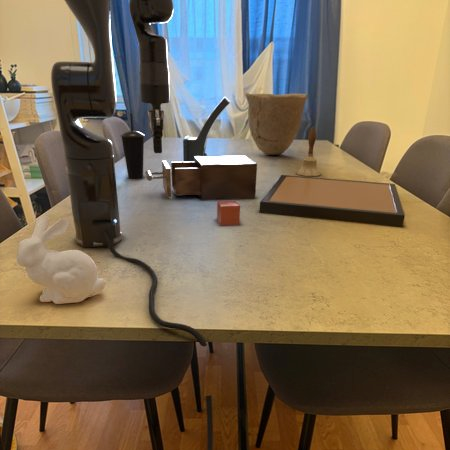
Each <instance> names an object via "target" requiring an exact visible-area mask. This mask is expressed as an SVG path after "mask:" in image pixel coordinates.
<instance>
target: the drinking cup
mask: <svg viewBox="0 0 450 450" xmlns="http://www.w3.org/2000/svg"><path fill="white" fill-rule="evenodd" d="M129 119H130V130H128V131H127V130H126V131H124V132H123V133H120V137H121V143H122V149H123V153H124V159H125V165H126V171H127V177H128V179H130V180H142V179H144V156H145V155H144V154H145V153H144V152H145V151H144V150H145V149H144V147H145V134H144V133H142V132H140V131H138V130H134V120H133V113H132V112H131V113H129Z"/></svg>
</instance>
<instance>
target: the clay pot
mask: <svg viewBox="0 0 450 450" xmlns="http://www.w3.org/2000/svg"><path fill="white" fill-rule="evenodd" d="M244 96H245V99H246V101H247V104H248V108H247V123H248V127H249V132H250V136H251V138H252V139H253V141H254V143H255V145H256V147H257V148H258V150H259V151H261V152H262V153H263V154H265V155H267V156H279V155H282V154H283V153H285V152H286V151H287V150H288V149H289V148H290V147H291V145H292V143H293V142H294V140H295V139H296V137H297V136H298V132H299V129H300V126H301V123H302V119H303V118H302V117H303V114H304V108H305V105H306V101H307V100H308V97H309V94H308V93H298V92H297V93H286V94H271V93H249V92H245V93H244Z"/></svg>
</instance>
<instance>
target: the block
mask: <svg viewBox="0 0 450 450" xmlns="http://www.w3.org/2000/svg"><path fill="white" fill-rule="evenodd" d="M240 217H241V205H240V204H239V203H238V202H237V201H236V200H216V221H217V222H218V223H219V225H220V226H240V222H241V221H240V219H241V218H240Z"/></svg>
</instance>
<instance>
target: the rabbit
mask: <svg viewBox="0 0 450 450" xmlns="http://www.w3.org/2000/svg"><path fill="white" fill-rule="evenodd" d="M49 224H50V218H49V216H48V215H46V214H42V215H40V216H39V217H37V219H36V222H35V225H34V228H33V230H32V231H33V232H32V235H31V236H30V237H28V238H24V239H22V240H20V242H19V244H18V249H17V257H16V263H17V264H18V265H19V266H20V267H25V272H26V274H27V276H28V278H29V280H31V281H32V282H33V283H34V284H36V285H39V286H41V287H44V288H43V290H42V291H41V292H42V294H40V296H39V302H41V303H48V302H49V303H50V302H53V303H54V304H55V305H62V304H73V303H74V304H75V303H81V302H83V301H84V300H85V299H87V298H91V297H94V296H96V295H99V294H100V293H102V292H103V291H104V290H105V287H106V280H105V278H101V277H99V272H98V267H97V265H96V263H95V261H94V259H92V257H91V256H90V255H89V254H87V253H86V252H84V251H81V250H80V249H79V250H78V249H66V250H62V251H57V250H55V249H49V248H48V247H47V246H46V243H49V242H50V241H51V240H53V239H55V238H57V237H59V236H60V235H63V234H64V233H65V232H67V230H68V229H69V226H70V221H69V220H68V219H67V218H64V217H61V218H60V219H58V220H57V221H55V222H54V223H53V224H51V225H49Z"/></svg>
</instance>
